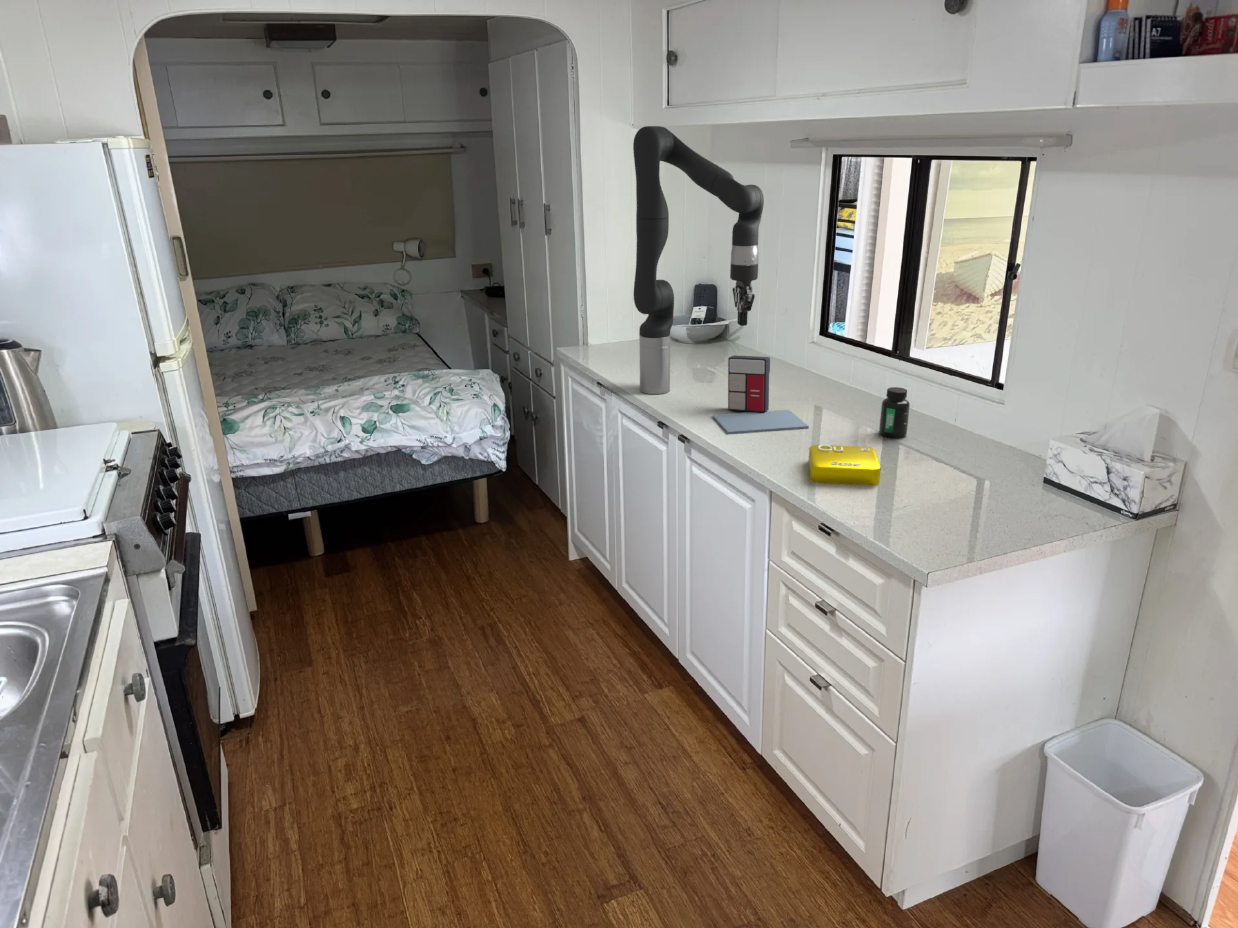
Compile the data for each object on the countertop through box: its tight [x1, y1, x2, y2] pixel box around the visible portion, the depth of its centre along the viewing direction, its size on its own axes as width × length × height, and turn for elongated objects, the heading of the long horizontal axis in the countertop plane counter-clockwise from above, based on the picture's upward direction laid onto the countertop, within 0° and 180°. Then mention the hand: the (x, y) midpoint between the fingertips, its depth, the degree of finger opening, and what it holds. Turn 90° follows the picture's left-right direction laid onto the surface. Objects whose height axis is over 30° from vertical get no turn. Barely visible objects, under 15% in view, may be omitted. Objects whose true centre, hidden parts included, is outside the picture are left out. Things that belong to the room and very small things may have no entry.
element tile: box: [808, 444, 882, 486], centre depth 196 cm, size 15×15×5 cm
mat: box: [711, 409, 810, 435], centre depth 231 cm, size 15×22×1 cm
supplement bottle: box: [878, 386, 911, 440], centre depth 218 cm, size 7×7×12 cm
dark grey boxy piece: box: [727, 355, 771, 413], centre depth 239 cm, size 11×4×15 cm, turn 62°
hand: (742, 324), depth 240 cm, fingers closed
